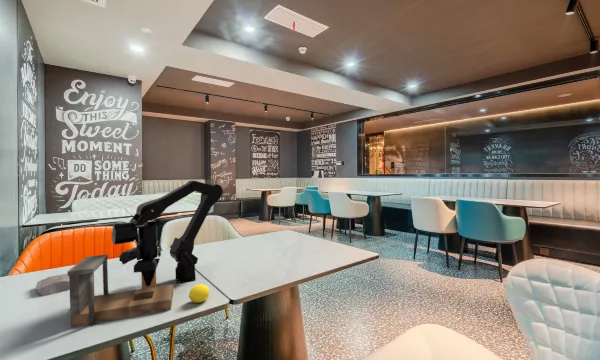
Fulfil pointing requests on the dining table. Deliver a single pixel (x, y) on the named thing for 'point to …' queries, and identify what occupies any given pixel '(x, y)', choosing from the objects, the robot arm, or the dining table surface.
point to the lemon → (199, 293)
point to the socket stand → (110, 296)
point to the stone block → (53, 285)
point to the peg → (153, 283)
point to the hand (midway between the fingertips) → (149, 283)
